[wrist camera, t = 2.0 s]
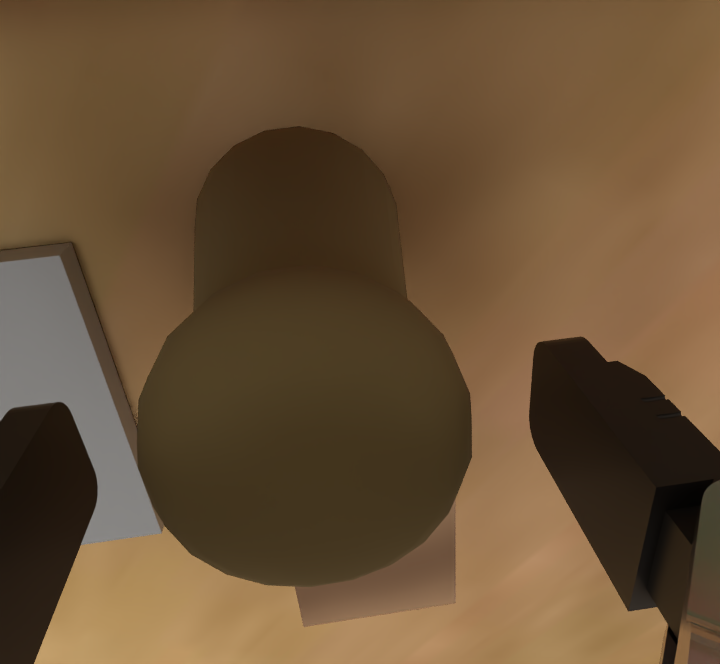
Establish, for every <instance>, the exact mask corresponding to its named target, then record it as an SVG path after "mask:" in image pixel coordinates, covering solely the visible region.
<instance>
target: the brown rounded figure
mask: <svg viewBox="0 0 720 664" xmlns="http://www.w3.org/2000/svg"><path fill="white" fill-rule="evenodd" d="M471 458H472V424H471V402H470V393H469V390H468V388H467V386H466V383H465V381H464V379H463V376H462V374H461V372H460V369H459V367H458V364H457V362H456V360H455V357H454V355H453V353H452V351H451V349H450V347H449V345H448V343H447V341H446V339H445V337H444V335H443V334H442V333H441V332H440V331H439V330H438V329H437V328H436V327H435V326H434V325H433V324H432V323H431V322H430V321H429V320H428V319H427V318H426V317H425V316H424V315H423V314H422V313H421V312H420V311H419V310H418V309H417V308H416V307H415V306H414V305H413V304H412V303H411V302H410V301H409V300H408V299H407V293H406V285H405V276H404V267H403V259H402V250H401V242H400V233H399V225H398V216H397V207H396V202H395V200H394V197H393V195H392V193H391V190H390V188H389V186H388V183H387V181H386V178H385V176H384V174H383V173H382V172H381V171H380V170H379V169H378V167H377V166H376V165H375V164H374V163H373V162H372V161H371V160H370V158H369V157H368V156H367V155H366V154H365V153H364V152H363V150H361V149H359V148H358V147H356V146H354V145H352V144H351V143H349V142H347V141H345V140H344V139H342V138H340V137H338V136H337V135H335V134H333V133H329V132H324V131H319V130H314V129H309V128H304V127H291V128H283V129H275V130H267V131H263V132H261V133H259V134H257V135H255V136H253V137H251V138H249V139H247V140H245V141H243V142H241V143H239V144H237V145H235V146H233V147H232V148H231V149H230V150H229V151H228V152H227V154H226V155H225V156H224V157H223V158H222V159H221V160H220V161H219V162H218V163H217V164H216V165H215V166H214V167H213V168H212V169H211V170H210V172H209V174H208V177H207V179H206V181H205V183H204V185H203V188H202V190H201V192H200V194H199V196H198V199H197V208H196V220H195V242H194V312H193V313H192V314H191V315H190V316H189V317H188V318H187V319H185V320H184V321H183V322H182V323H181V324H180V325H179V326H178V327H177V328H176V329H175V330H174V331H173V332H172V333H171V334H170V335H169V336H167V339H166V341H165V343H164V345H163V347H162V349H161V351H160V353H159V355H158V357H157V359H156V361H155V363H154V366H153V368H152V370H151V372H150V374H149V376H148V378H147V381H146V383H145V386H144V388H143V390H142V393H141V395H140V398H139V403H138V428H137V459H138V470H139V472H140V475H141V477H142V480H143V483H144V485H145V488H146V490H147V493H148V495H149V498H150V500H151V503H152V505H153V507H154V509H155V511H156V512H157V514H158V516H159V517H160V519H161V521H162V522H163V524H164V525H165V527H166V528H167V529H168V530H169V531H170V532H171V533H172V534H173V535H174V536H175V537H176V539H177V540H178V541H179V542H180V543H181V544H182V545H183V546H184V547H185V548H186V549H187V550H188V552H189V553H190V554H191V555H193V556H195V557H197V558H199V559H200V560H202V561H204V562H206V563H207V564H209V565H211V566H213V567H214V568H216V569H218V570H220V571H221V572H223V573H225V574H227V575H231V576H235V577H238V578H242V579H246V580H249V581H253V582H257V583H261V584H264V585H274V586H296V587H314V586H320V585H326V584H332V583H338V582H344V581H350V580H354V579H357V578H359V577H362V576H364V575H367V574H370V573H372V572H375V571H377V570H380V569H382V568H385V567H388V566H390V565H392V564H394V563H395V562H396V561H398V560H399V559H401V558H402V557H404V556H405V555H407V554H408V553H410V552H411V551H413V550H414V549H415V548H417V547H418V546H420V545H421V544H423V543H424V542H425V541H426V540H427V539H428V538H429V536H430V535H431V534H432V533H433V532H434V530H435V529H436V528H437V527H438V526H439V524H440V523H441V522H442V521H443V520H444V519H445V517H446V516H447V515H448V514H449V512H450V510H451V507H452V505H453V503H454V500H455V498H456V496H457V494H458V491H459V488H460V486H461V483H462V481H463V478H464V476H465V473H466V470H467V468H468V465H469V463H470V460H471Z"/></svg>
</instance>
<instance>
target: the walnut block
mask: <svg viewBox="0 0 720 664" xmlns="http://www.w3.org/2000/svg"><path fill="white" fill-rule="evenodd" d="M295 589H296V594H297V598H298V603H299V608H300V612H301V617H302V621H303V626H304V627H307V626H313V625H320V624H326V623H332V622H339V621H345V620H352V619H358V618H364V617H371V616H377V615H384V614H390V613H396V612H403V611H409V610H416V609H422V608H428V607H435V606H441V605H448V604H454V603H456V576H455V500H454V503H453V505H452V507H451V510H450V512H449V514H448V515H447V516H446V517H445V519H444V520H443V521H442V522H441V523H440V524H439V526H438V527H437V528H436V529H435V530H434V532H433V533H432V534H431V535H430V536H429V538H428V539H427V540H426V541H425V542H424V543H423V544H421V545H420V546H418V547H417V548H415V549H414V550H413V551H411V552H410V553H408V554H407V555H405V556H404V557H402V558H401V559H399V560H398V561H396V562H395V563H394V564H392V565H390V566H388V567H385V568H382V569H380V570H377V571H375V572H372V573H370V574H367V575H364V576H362V577H359V578H357V579H354V580H350V581H344V582H338V583H332V584H326V585H320V586H314V587H296V586H295Z"/></svg>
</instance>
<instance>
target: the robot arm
mask: <svg viewBox="0 0 720 664" xmlns="http://www.w3.org/2000/svg"><path fill="white" fill-rule="evenodd" d="M529 421H530V429H531V434H532V438H533V441H534V444H535V446H536V449H537V451H538V452H539V454H540V456H541V458H542V460H543V461H544V463H545V465H546V467H547V468H548V470H549V472H550V474H551V475H552V477H553V479H554V481H555V483H556V484H557V486H558V488H559V490H560V491H561V493H562V495H563V497H564V498H565V500H566V502H567V504H568V505H569V507H570V509H571V511H572V513H573V514H574V516H575V518H576V520H577V521H578V523H579V525H580V527H581V528H582V530H583V532H584V534H585V536H586V537H587V539H588V541H589V543H590V544H591V546H592V548H593V550H594V551H595V553H596V555H597V557H598V558H599V560H600V562H601V564H602V566H603V567H604V569H605V571H606V573H607V574H608V576H609V578H610V580H611V581H612V583H613V585H614V587H615V589H616V590H617V592H618V594H619V596H620V597H621V599H622V601H623V603H624V604H625V606H626V608H627V610H628V611H634V610H640V609H647V608H653V607H658V609H659V610H660V612H661V614H662V615H663V617H664V619H665V620H666V622H667V627H666V630H665V634H664V638H663V644H662V650H661V656H660V662H659V664H720V451H719V450H718V449H717V448H716V447H715V446H714V445H713V444H712V443H711V442H710V441H709V440H708V439H707V438H706V437H705V436H704V435H703V434H702V433H701V432H700V431H699V430H698V429H697V428H696V427H695V426H694V425H693V424H692V423H691V422H690V421H689V420H688V419H687V418H686V417H685V416H681V411H680V410H679V409H678V408H677V407H676V406H675V405H674V404H673V403H672V402H671V401H670V400H669V399H667V400H666V399H665V395H664V394H663V393H662V392H661V391H660V390H659V389H658V388H657V387H656V386H655V385H654V384H653V383H652V382H651V381H650V380H649V379H648V378H647V377H646V376H645V375H643V374H641V373H639V372H637V371H635V370H634V369H632V368H630V367H628V366H626V365H624V364H622V363H621V362H619V361H613V362H607V361H606V360H605V359H604V358H603V357H602V356H601V355H600V353H599V352H598V351H597V350H596V349H595V348H594V347H593V346H592V345H591V344H590V342H589V341H588V340H587V339H585V338H584V337H574V338H567V339H559V340H551V341H543V342H539V343H537V345H536V347H535V350H534V356H533V369H532V383H531V397H530V410H529ZM97 495H98V485H97V477H96V473H95V470H94V467H93V465H92V463H91V460H90V458H89V455H88V453H87V450H86V448H85V445H84V443H83V440H82V438H81V435H80V433H79V430H78V428H77V425H76V423H75V421H74V418H73V416H72V413H71V411H70V409H69V408H68V407H67V405H66V404H64V403H62V402H54V403H46V404H38V405H30V406H22V407H14V408H12V409H10V410H9V411H8V412H7V413H6V414H5V415H4V417H3V418H2V420H1V421H0V664H34V662H35V659H36V657H37V654H38V652H39V649H40V646H41V644H42V641H43V639H44V636H45V634H46V631H47V629H48V626H49V624H50V621H51V619H52V616H53V614H54V611H55V609H56V606H57V604H58V601H59V598H60V596H61V593H62V591H63V588H64V586H65V583H66V581H67V578H68V576H69V573H70V571H71V568H72V566H73V563H74V561H75V558H76V556H77V553H78V550H79V548H80V545H81V543H82V540H83V538H84V535H85V533H86V530H87V528H88V525H89V523H90V520H91V518H92V515H93V513H94V510H95V507H96V503H97Z"/></svg>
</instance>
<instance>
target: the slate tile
mask: <svg viewBox="0 0 720 664" xmlns="http://www.w3.org/2000/svg"><path fill="white" fill-rule="evenodd" d="M54 402H62V403H64V404H66V405H67V407H68V408H69V409H70V411H71V413H72V416H73V418H74V421H75V423H76V425H77V428H78V430H79V433H80V435H81V438H82V440H83V443H84V445H85V448H86V450H87V453H88V455H89V458H90V460H91V463H92V465H93V467H94V470H95V473H96V477H97V485H98V495H97V503H96V507H95V510H94V513H93V515H92V518H91V520H90V523H89V525H88V528H87V530H86V533H85V535H84V538H83V540H82V543H81V545H83V544H90V543H97V542H104V541H111V540H118V539H125V538H132V537H139V536H146V535H153V534H160V533H162V530H163V526H164V524H163V522H162V521H161V519H160V517H159V516H158V514H157V512H156V511H155V509H154V507H153V505H152V503H151V500H150V498H149V495H148V493H147V490H146V488H145V485H144V483H143V480H142V477H141V475H140V472H139V470H138V459H137V427H136V424H135V421H134V419H133V416H132V413H131V410H130V407H129V404H128V402H127V399H126V396H125V393H124V390H123V387H122V385H121V382H120V379H119V376H118V373H117V370H116V367H115V365H114V362H113V359H112V356H111V353H110V350H109V348H108V345H107V342H106V339H105V336H104V333H103V331H102V328H101V325H100V322H99V319H98V316H97V314H96V311H95V308H94V305H93V302H92V299H91V297H90V294H89V291H88V288H87V285H86V282H85V280H84V277H83V274H82V271H81V268H80V265H79V262H78V260H77V257H76V254H75V251H74V248H73V245H72V243H62V244H53V245H45V246H36V247H27V248H19V249H10V250H2V251H0V421H1V420H2V418H3V417H4V415H5V414H6V413H7V412H8V411H9V410H10V409H12V408H14V407H22V406H30V405H38V404H46V403H54Z"/></svg>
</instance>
